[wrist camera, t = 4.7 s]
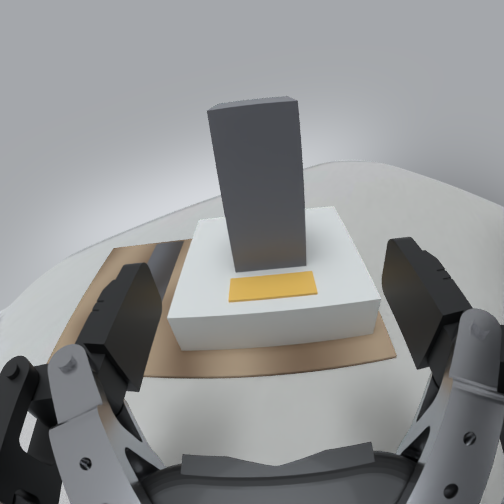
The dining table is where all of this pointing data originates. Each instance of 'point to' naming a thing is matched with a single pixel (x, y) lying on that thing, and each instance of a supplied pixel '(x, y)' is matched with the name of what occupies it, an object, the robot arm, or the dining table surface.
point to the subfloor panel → (228, 360)
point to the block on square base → (268, 246)
